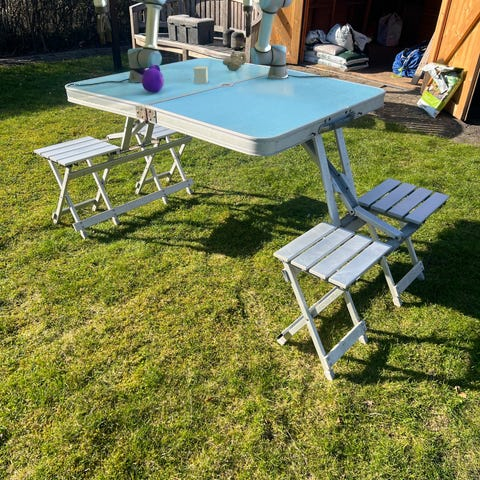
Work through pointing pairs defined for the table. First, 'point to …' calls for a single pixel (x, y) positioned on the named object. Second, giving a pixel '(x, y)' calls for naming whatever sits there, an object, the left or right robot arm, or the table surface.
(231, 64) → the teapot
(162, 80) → the toy
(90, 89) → the table surface
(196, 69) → the brick
